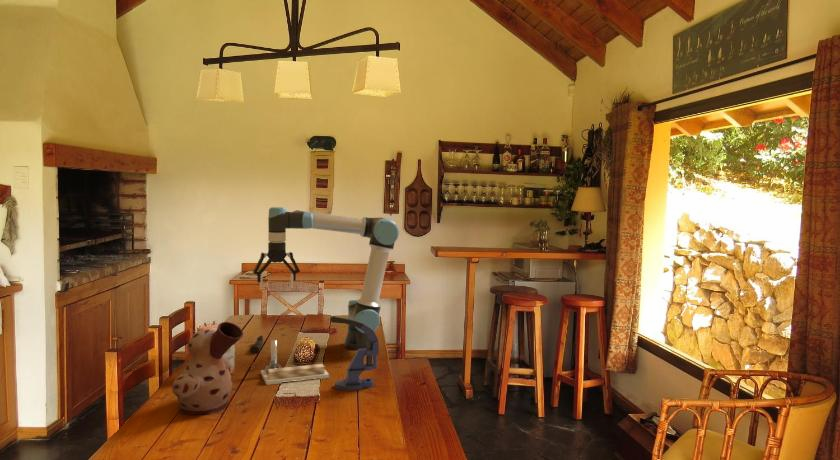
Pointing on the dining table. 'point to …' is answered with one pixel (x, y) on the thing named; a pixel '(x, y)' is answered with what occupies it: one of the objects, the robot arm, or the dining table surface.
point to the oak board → (296, 371)
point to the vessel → (207, 371)
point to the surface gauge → (273, 357)
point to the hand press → (359, 359)
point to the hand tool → (257, 345)
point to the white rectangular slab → (278, 381)
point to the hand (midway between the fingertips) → (276, 288)
